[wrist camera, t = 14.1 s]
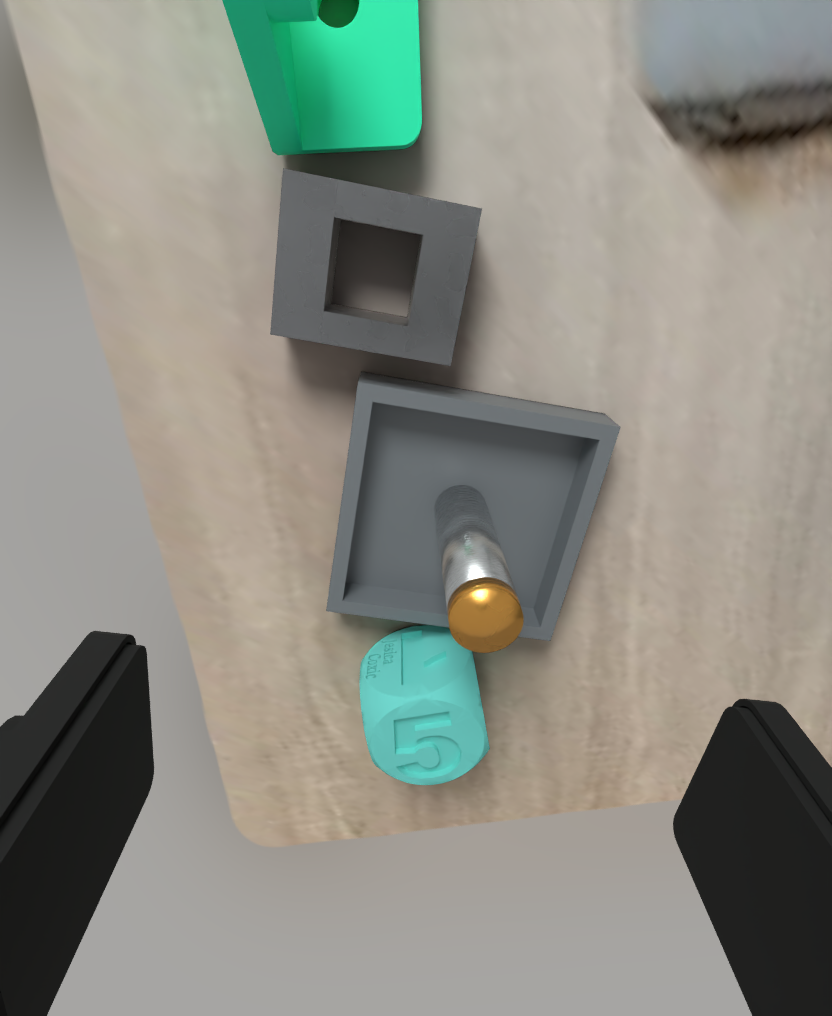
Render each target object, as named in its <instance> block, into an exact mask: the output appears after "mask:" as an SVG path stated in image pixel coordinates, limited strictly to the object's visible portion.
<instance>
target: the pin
mask: <svg viewBox="0 0 832 1016" xmlns="http://www.w3.org/2000/svg"><path fill="white" fill-rule="evenodd" d="M434 514H435V522H436V529H437V537H438V545H439V552H440V560H441V568H442V575H443V583H444V591H445V598H446V606H447V614H448V621H449V628H450V632H451V635H452V636H453V638H454V639H455V641H456V642H457V643H458V644H459V645H461V646H462V647H464V648H466V649H468V650H470V651H474V652H480V653H488V652H494V651H498V650H500V649H503V648H505V647H507V646H508V645H510V644H511V643H512V642H513V641H514V640H515V639H516V638H517V637H518V635H519V634H520V632H521V630H522V627H523V622H524V617H523V612H522V609H521V606H520V603H519V600H518V597H517V594H516V591H515V588H514V585H513V582H512V579H511V576H510V573H509V570H508V567H507V564H506V561H505V558H504V555H503V552H502V549H501V546H500V543H499V540H498V537H497V534H496V531H495V528H494V525H493V522H492V519H491V516H490V513H489V510H488V507H487V504H486V501H485V498H484V497H483V495H482V494H481V493H480V492H479V491H478V490H477V489H475V488H473V487H471V486H467V485H456V486H452V487H450V488H448V489H446V490H444V491H443V492H442V493H441V494H440V495H439V497H438V498H437V500H436V502H435V506H434Z"/></svg>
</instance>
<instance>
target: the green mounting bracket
mask: <svg viewBox="0 0 832 1016" xmlns="http://www.w3.org/2000/svg"><path fill="white" fill-rule="evenodd" d="M222 1H223V4H224V7H225V10H226V13H227V16H228V19H229V22H230V25H231V28H232V31H233V34H234V37H235V40H236V43H237V46H238V49H239V52H240V55H241V58H242V61H243V64H244V67H245V70H246V73H247V76H248V79H249V82H250V85H251V88H252V91H253V94H254V97H255V100H256V103H257V106H258V109H259V112H260V115H261V118H262V121H263V124H264V127H265V130H266V133H267V136H268V139H269V142H270V145H271V148H272V151H273V152H274V153H276V154H277V155H295V154H316V153H336V152H357V151H378V150H398V149H406V148H408V147H410V146H412V145H413V144H414V143H415V142H416V140H417V139H418V137H419V134H420V130H421V125H422V105H421V76H420V47H419V18H418V0H358V2H359V8H358V12H357V14H356V16H355V18H354V19H353V21H352V22H351V23H349V24H348V25H346V26H344V27H341V28H333V27H330V26H328V25H326V24H325V23H324V22H323V21H322V20H321V19H320V18H319V8H320V4H321V2H322V0H222Z"/></svg>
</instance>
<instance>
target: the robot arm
mask: <svg viewBox="0 0 832 1016" xmlns="http://www.w3.org/2000/svg"><path fill="white" fill-rule="evenodd" d="M149 698H150V697H149V682H148V667H147V652H146V648H145V647H144V646H141V645H136V641H135V638H134V637H133V636H132V635H129V634H119V633H110V632H100V631H93V632H91V633H89V634H88V635H87V636H86V638H85V639H84V640H83V641H82V643H81V644H80V645H79V646H78V648H77V649H76V650H75V651H74V653H73V654H72V655H71V657H70V658H69V659H68V660H67V662H66V663H65V664H64V665H63V667H62V668H61V669H60V671H59V672H58V673H57V674H56V676H55V677H54V678H53V679H52V681H51V682H50V683H49V685H48V686H47V687H46V688H45V690H44V691H43V692H42V694H41V695H40V696H39V697H38V698H37V700H36V701H35V702H34V703H33V705H32V706H31V707H30V709H29V710H28V711H27V712H26V714H25V715H24V716H14V717H12V718H10V719H8V720H7V721H6V722H5V723H4V724H3V725H2V726H1V727H0V1016H47V1014H48V1012H49V1010H50V1007H51V1005H52V1003H53V1001H54V998H55V996H56V994H57V992H58V990H59V988H60V986H61V983H62V981H63V979H64V977H65V975H66V973H67V970H68V968H69V966H70V964H71V962H72V959H73V957H74V955H75V953H76V950H77V949H78V946H79V944H80V942H81V940H82V937H83V935H84V933H85V931H86V929H87V927H88V924H89V922H90V920H91V918H92V916H93V914H94V911H95V909H96V907H97V905H98V903H99V901H100V898H101V896H102V894H103V892H104V890H105V888H106V885H107V883H108V881H109V879H110V877H111V875H112V872H113V870H114V868H115V866H116V863H117V861H118V859H119V857H120V855H121V853H122V850H123V848H124V846H125V844H126V842H127V840H128V837H129V835H130V833H131V831H132V829H133V827H134V824H135V822H136V820H137V818H138V816H139V814H140V811H141V809H142V807H143V805H144V803H145V800H146V798H147V796H148V794H149V791H150V788H151V785H152V781H153V775H154V761H153V745H152V730H151V714H150V699H149ZM673 829H674V835H675V838H676V841H677V844H678V846H679V848H680V851H681V853H682V855H683V858H684V860H685V862H686V864H687V867H688V869H689V871H690V874H691V876H692V878H693V881H694V883H695V885H696V887H697V890H698V892H699V894H700V897H701V899H702V901H703V903H704V906H705V908H706V910H707V913H708V915H709V917H710V920H711V922H712V924H713V926H714V929H715V931H716V933H717V936H718V938H719V940H720V942H721V945H722V947H723V949H724V952H725V954H726V956H727V958H728V961H729V963H730V965H731V968H732V970H733V972H734V974H735V977H736V979H737V981H738V984H739V986H740V988H741V991H742V993H743V995H744V997H745V1000H746V1002H747V1004H748V1007H749V1009H750V1011H751V1013H752V1016H832V768H831V766H830V765H829V764H828V762H827V761H826V760H825V759H824V757H823V756H822V755H821V753H820V752H819V751H818V750H817V748H816V747H815V746H814V745H813V743H812V742H811V741H810V739H809V738H808V737H807V736H806V734H805V733H804V732H803V730H802V729H801V728H800V727H799V725H798V724H797V723H796V722H795V720H794V719H793V718H792V716H791V715H790V714H789V713H788V711H787V710H786V709H785V708H784V707H783V706H782V705H781V704H779V703H776V702H769V701H760V700H750V699H739V700H738V701H736V702H735V703H734V705H733V706H732V707H728V708H726V709H725V711H724V712H723V714H722V716H721V718H720V721H719V723H718V725H717V727H716V729H715V731H714V733H713V735H712V737H711V740H710V742H709V744H708V746H707V748H706V750H705V752H704V754H703V756H702V759H701V761H700V763H699V765H698V767H697V769H696V771H695V773H694V775H693V778H692V780H691V782H690V784H689V786H688V788H687V790H686V792H685V795H684V797H683V799H682V801H681V803H680V805H679V807H678V809H677V812H676V814H675V816H674V821H673Z"/></svg>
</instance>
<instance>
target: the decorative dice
mask: <svg viewBox="0 0 832 1016" xmlns="http://www.w3.org/2000/svg"><path fill="white" fill-rule="evenodd" d="M360 700H361V710H362V718H363V725H364V731H365V736H366V741H367V745H368V749H369V752H370V755H371V758H372V760H373V762H374V764H375V765H376V766H377V767H378V768H379V769H381V770H382V771H383V772H385V773H386V774H388V775H390V776H391V777H394V778H396V779H398V780H400V781H403V782H407V783H411V784H417V785H434V784H441V783H445V782H448V781H451V780H454V779H456V778H458V777H460V776H462V775H463V774H465V773H467V772H468V771H469V770H471V769H472V768H473V767H475V766H476V765H477V764H478V763H479V762H480V761H481V759H482V758H483V757H484V756H485V755H486V753H487V752H488V750H489V749H490V748H489V742H488V736H487V731H486V725H485V719H484V714H483V708H482V703H481V697H480V691H479V686H478V680H477V674H476V669H475V663H474V658H473V652H472V651H470V650H468V649H466V648H464V647H462V646H461V645H459V644H458V643H457V642H456V641H455V639H454V638H453V636H452V635H451V632H450V629H448V628H445V627H441V626H434V625H419V626H413V627H408V628H404V629H401V630H398V631H396V632H393V633H391V634H389V635H387V636H386V637H384V638H383V639H381V640H380V641H378V642H377V643H376V644H375V645H374V646H373V647H372V648H371V649H370V650H369V652H368V653H367V654H366V655H365V657H364V658H363V659H362V662H361V667H360Z"/></svg>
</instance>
